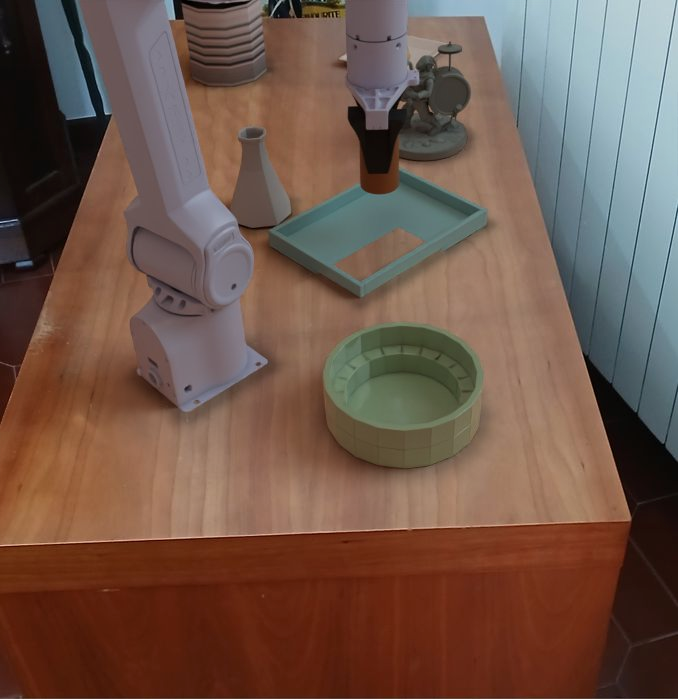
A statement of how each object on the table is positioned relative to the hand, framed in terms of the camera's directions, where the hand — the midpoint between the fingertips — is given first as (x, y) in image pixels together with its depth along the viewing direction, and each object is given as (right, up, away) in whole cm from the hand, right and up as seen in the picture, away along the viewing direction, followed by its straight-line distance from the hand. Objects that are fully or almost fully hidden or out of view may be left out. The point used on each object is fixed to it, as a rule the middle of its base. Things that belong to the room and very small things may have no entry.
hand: (378, 161), depth 94 cm
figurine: (+7, +7, +22) cm, 24 cm away
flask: (-13, -4, +11) cm, 17 cm away
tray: (0, -7, +6) cm, 9 cm away
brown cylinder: (0, -2, +2) cm, 3 cm away
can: (-20, +21, +40) cm, 50 cm away
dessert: (+4, +23, +41) cm, 47 cm away
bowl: (+1, -25, -15) cm, 29 cm away
